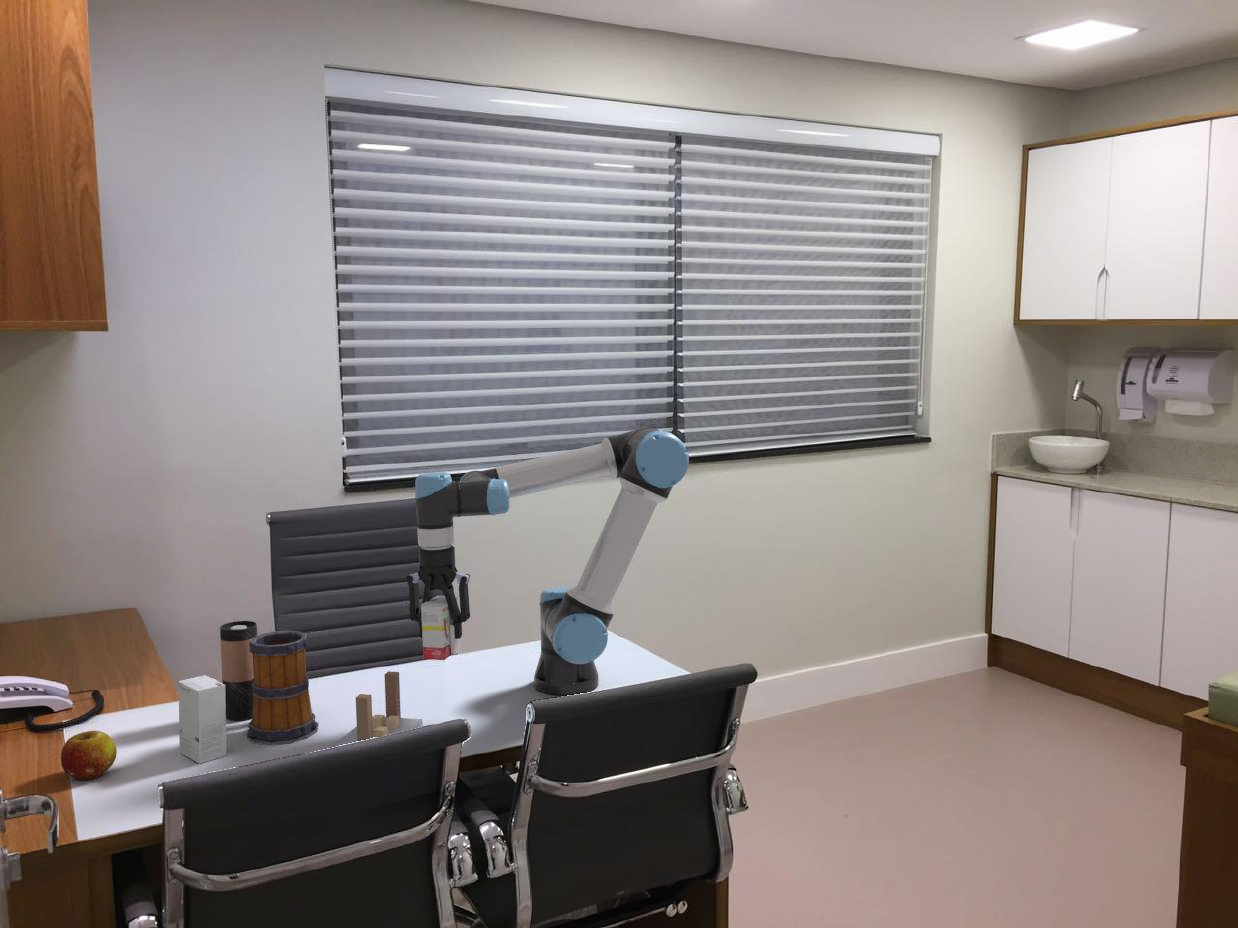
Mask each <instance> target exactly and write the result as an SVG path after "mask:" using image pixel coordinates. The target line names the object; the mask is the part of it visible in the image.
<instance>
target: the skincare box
mask: <svg viewBox="0 0 1238 928" xmlns="http://www.w3.org/2000/svg"><path fill="white" fill-rule="evenodd" d="M177 682H178V720H179V721H178V728H179V729H178V731H179V754H181V755H184V756H185V757H187V758H190V759H191V760H193V761H194V762H196V763H197V764H203V763H208V762H210V761H213V760H216V759H220V758H223V757H226V756H227V718H226V703H225V685H224V684H223V682H220V681H218V680H217V678H216V679H215V678H213V677H209V676H208V675H205V674H203V675H200V676H199V675H198V676H194V677H192V678H187V679H186V678H185V679H182V680H179V681H177Z"/></svg>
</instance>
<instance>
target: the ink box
mask: <svg viewBox="0 0 1238 928" xmlns="http://www.w3.org/2000/svg"><path fill="white" fill-rule="evenodd" d="M455 597H456V600H457V604H458V597H457V596H455ZM421 605H422V606H421ZM421 605H420V610H421V614H422V638H421V639H422V654H423V655H422V656H423V657H422V658H423V660H434V661H445V660H447V659H448V658H449V657H450V656H452V655H451V638H450V625H451V624H452V623H453V620H452V617H451V614H450V611H449V608H448V604H447V601H446V598H445V595H436V596H434V597H432V599H431V600H430V601H428V602H424V603H423V604H422V603H421ZM458 643H459V644H460V639H458ZM459 650H460V645H459Z"/></svg>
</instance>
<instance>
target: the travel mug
mask: <svg viewBox="0 0 1238 928" xmlns="http://www.w3.org/2000/svg"><path fill="white" fill-rule="evenodd" d="M257 625H258V624H257V623H256V622H255V621H252V620H236V621H231V622H227V623H224V624H222V625H220V627H219V637H220V639H219V640H220V656H221V657H220V658H221V659H220V660H221V679H222V682H221V683H222V684H224V685H225V703H226V720H228V719H229V720H228V721H232V720H234V721H233V722H240V721H247V720H252V713H253V693H252V684H253V682H254V671H253V653H251V652H250V646H249V643H250V641H251V639H252V638H254V637H256V636H258V626H257Z"/></svg>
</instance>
